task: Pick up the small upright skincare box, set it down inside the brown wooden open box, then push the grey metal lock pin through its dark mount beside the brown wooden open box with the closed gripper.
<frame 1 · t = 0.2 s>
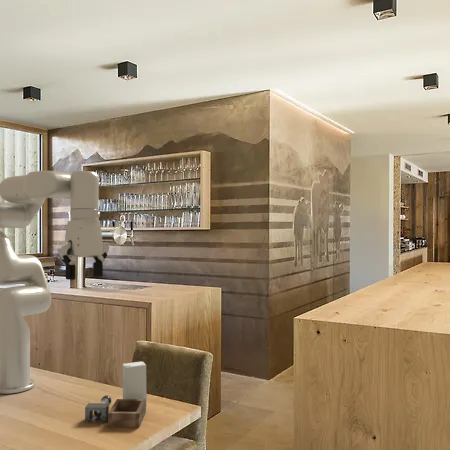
hand: (84, 277, 132), 37 cm above the table, tool pointing down, fingers open, 9 cm apart
pin mount: (96, 419, 126), on the table
skincare box: (134, 407, 135), on the table
brown wooden open box: (127, 419, 126), on the table
lock pin: (102, 406, 131), point 2 cm above the table, slide at 0.0 cm
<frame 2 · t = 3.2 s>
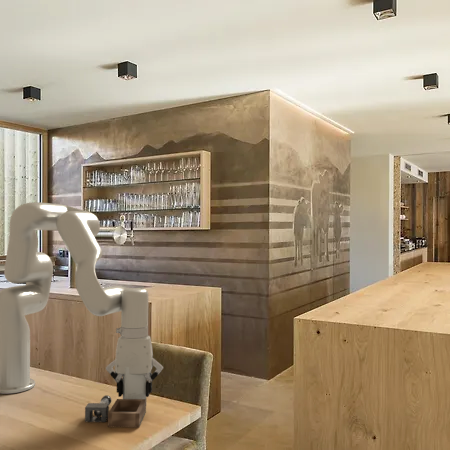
hand: (134, 394, 135), 3 cm above the table, tool pointing down, fingers closed on skincare box, 7 cm apart
skincare box: (134, 407, 135), on the table, touching gripper
everything else where it was.
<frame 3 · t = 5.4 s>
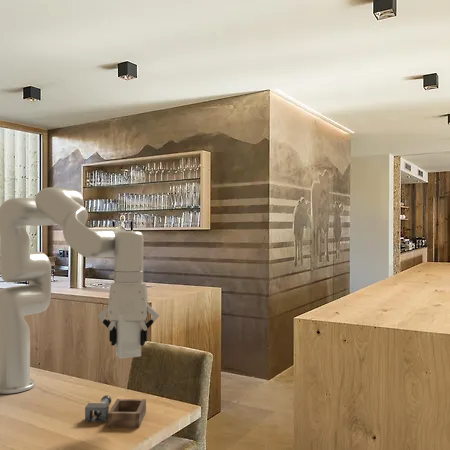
hand: (128, 343, 127), 20 cm above the table, tool pointing down, fingers closed on skincare box, 7 cm apart
skincare box: (128, 357, 127), point 16 cm above the table, touching gripper
everything else where it was.
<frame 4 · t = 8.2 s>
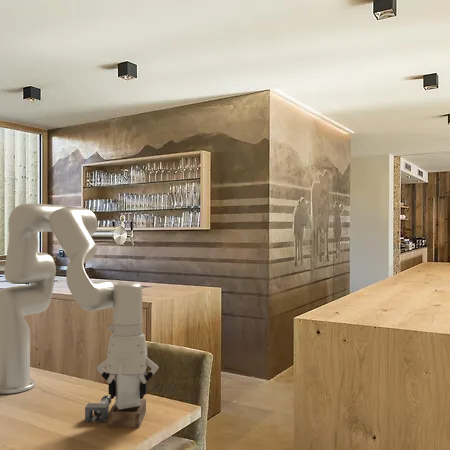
hand: (127, 396, 126), 6 cm above the table, tool pointing down, fingers closed on skincare box, 7 cm apart
skincare box: (127, 406, 126), point 3 cm above the table, touching gripper, brown wooden open box
everything else where it was.
when the fingers open (6 cm above the table, at t = 8.7 s): skincare box stays where it is, resting on brown wooden open box.
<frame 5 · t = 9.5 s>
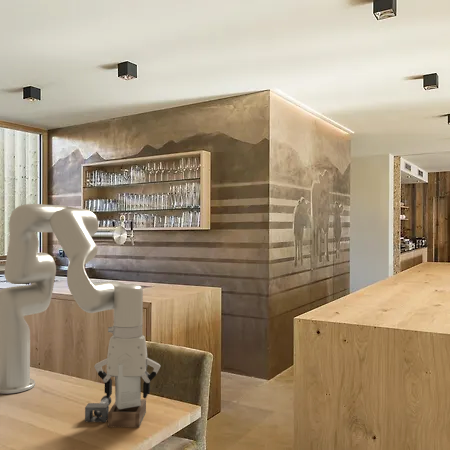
hand: (127, 396, 126), 6 cm above the table, tool pointing down, fingers open, 9 cm apart
skincare box: (127, 406, 126), point 3 cm above the table, touching brown wooden open box
everything else where it was.
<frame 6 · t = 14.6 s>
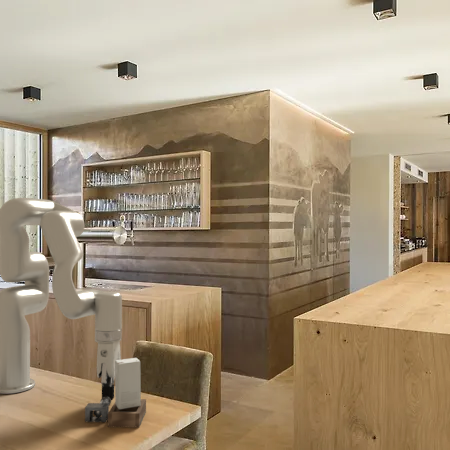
hand: (107, 398, 137), 1 cm above the table, tool pointing down, fingers closed
lock pin: (102, 406, 131), point 2 cm above the table, slide at 0.3 cm, touching gripper
everything else where it was.
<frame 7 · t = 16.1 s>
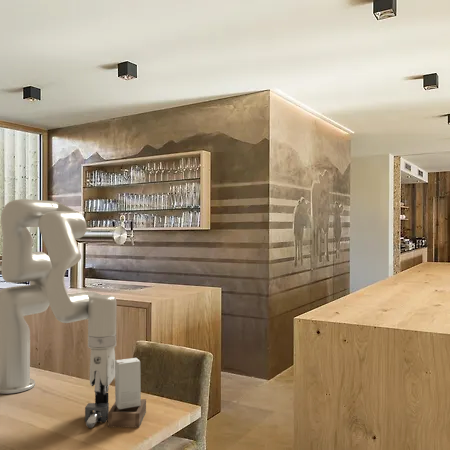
hand: (101, 407, 130), 1 cm above the table, tool pointing down, fingers closed
lock pin: (95, 416, 124), point 2 cm above the table, slide at 7.1 cm, touching gripper
everything else where it was.
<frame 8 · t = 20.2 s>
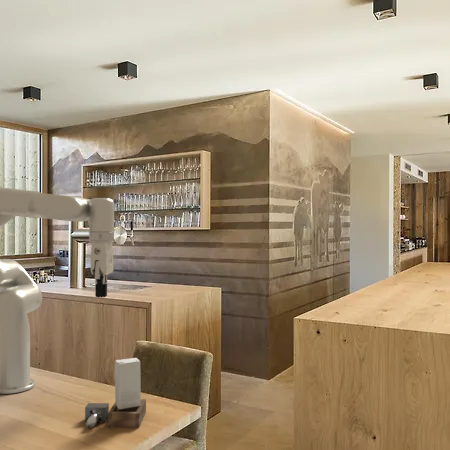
hand: (101, 296, 148), 29 cm above the table, tool pointing down, fingers closed
lock pin: (95, 416, 124), point 2 cm above the table, slide at 7.0 cm
everything else where it was.
at the end: skincare box inside the target area on the brown wooden open box (0.0 cm from its centre), point 3.3 cm above the brown wooden open box's base; skincare box tilted 0°; lock pin slide at 7.0 cm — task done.
